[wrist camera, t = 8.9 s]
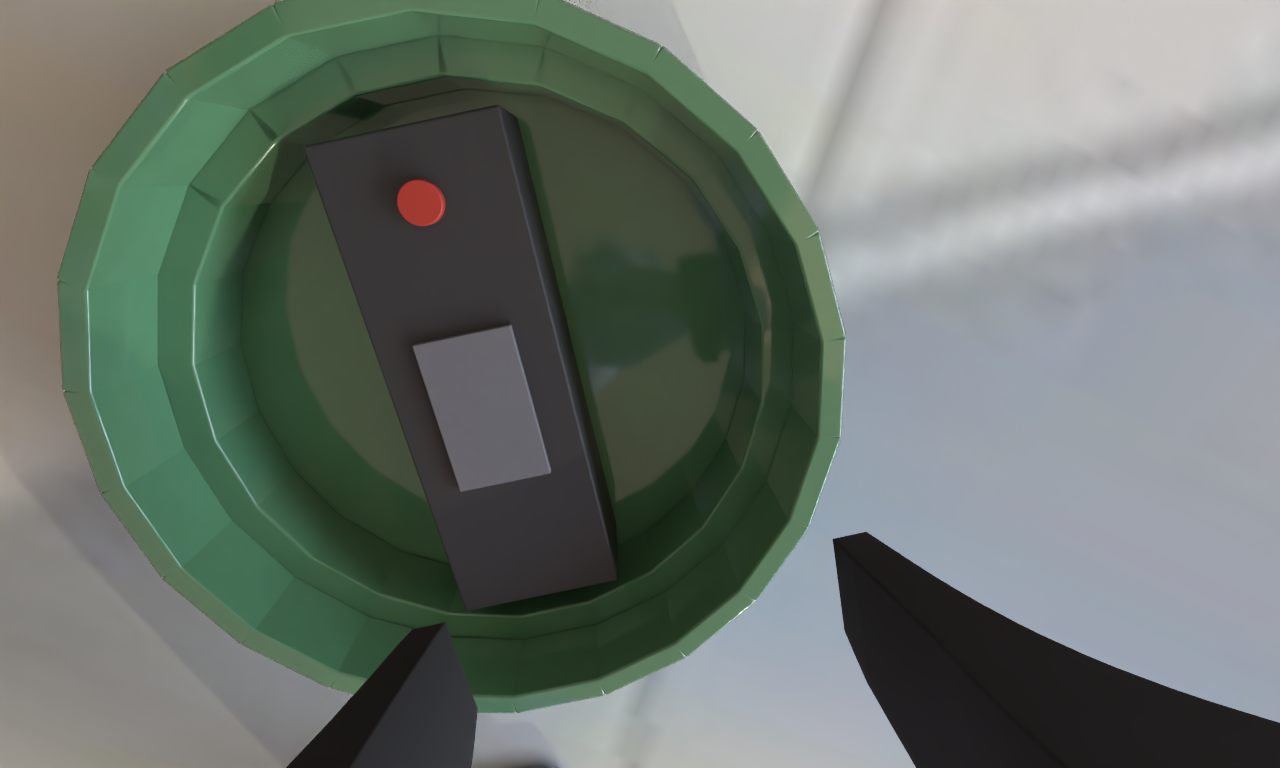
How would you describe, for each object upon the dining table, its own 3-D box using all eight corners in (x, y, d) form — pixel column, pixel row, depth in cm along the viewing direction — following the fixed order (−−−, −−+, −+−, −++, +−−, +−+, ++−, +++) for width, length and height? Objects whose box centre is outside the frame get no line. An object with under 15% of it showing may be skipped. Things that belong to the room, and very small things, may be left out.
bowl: (816, 539, 22) (876, 641, 17) (324, 640, 22) (248, 769, 17) (744, -31, 16) (803, -113, 11) (87, 111, 16) (-122, 86, 12)
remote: (616, 524, 21) (618, 587, 17) (484, 551, 21) (463, 619, 18) (516, 115, 17) (496, 102, 13) (352, 150, 17) (294, 145, 13)
